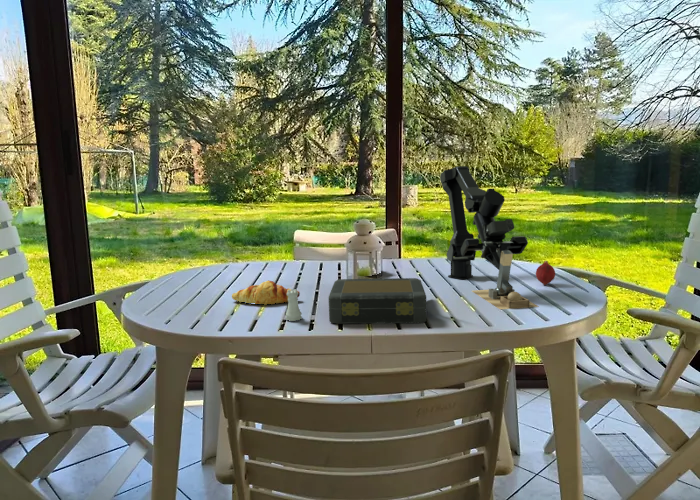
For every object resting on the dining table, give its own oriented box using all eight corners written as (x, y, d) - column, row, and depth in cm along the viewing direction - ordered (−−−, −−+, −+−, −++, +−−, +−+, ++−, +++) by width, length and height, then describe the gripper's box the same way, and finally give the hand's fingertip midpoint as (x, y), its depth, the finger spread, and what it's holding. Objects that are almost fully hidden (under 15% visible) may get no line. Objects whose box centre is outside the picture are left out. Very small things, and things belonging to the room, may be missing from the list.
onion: (556, 287, 153) (557, 262, 152) (537, 286, 154) (538, 262, 153) (552, 283, 159) (553, 259, 157) (534, 282, 160) (534, 259, 158)
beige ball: (504, 304, 130) (505, 292, 130) (511, 302, 133) (511, 289, 132) (517, 307, 128) (517, 294, 127) (523, 304, 130) (524, 291, 130)
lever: (493, 294, 139) (499, 250, 134) (504, 293, 140) (510, 250, 134) (501, 303, 134) (508, 258, 129) (512, 302, 135) (519, 257, 129)
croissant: (230, 315, 146) (223, 296, 141) (237, 292, 153) (232, 273, 149) (299, 313, 144) (295, 294, 139) (303, 290, 152) (299, 271, 147)
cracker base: (471, 295, 146) (471, 283, 146) (505, 293, 148) (505, 281, 147) (499, 314, 127) (500, 300, 126) (539, 311, 128) (539, 298, 128)
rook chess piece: (285, 317, 131) (284, 288, 129) (302, 316, 131) (301, 287, 130) (285, 322, 126) (283, 292, 125) (302, 321, 126) (300, 291, 125)
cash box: (420, 302, 142) (420, 276, 140) (427, 324, 122) (426, 295, 121) (336, 303, 143) (335, 278, 142) (328, 325, 123) (327, 296, 122)
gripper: (464, 211, 138) (479, 256, 129) (526, 208, 140) (544, 252, 131) (454, 235, 147) (467, 278, 138) (512, 232, 149) (529, 274, 140)
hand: (502, 270), depth 137 cm, fingers closed, pressing on lever
